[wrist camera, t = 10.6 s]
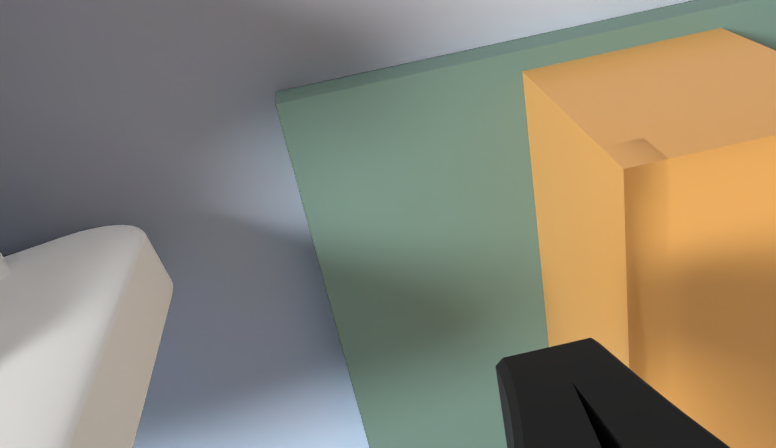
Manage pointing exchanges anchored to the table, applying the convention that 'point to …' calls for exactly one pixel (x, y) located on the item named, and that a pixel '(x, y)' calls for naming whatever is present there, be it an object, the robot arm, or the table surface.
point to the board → (446, 216)
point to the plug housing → (665, 219)
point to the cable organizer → (79, 338)
